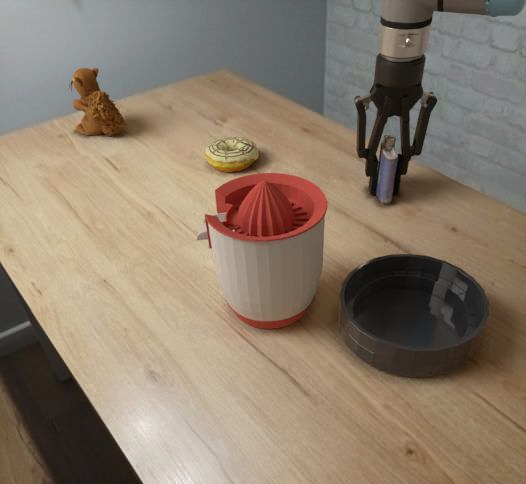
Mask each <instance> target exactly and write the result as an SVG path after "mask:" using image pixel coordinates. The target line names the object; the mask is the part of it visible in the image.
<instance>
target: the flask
mask: <svg viewBox="0 0 526 484" xmlns="http://www.w3.org/2000/svg"><path fill="white" fill-rule="evenodd" d="M396 140H397V138H396V136H394V135H391V134H385V135H383V136H382V137H381V141H380V147H379V148H380V149H379V150H380V151H379V156H378V170H377V178H376V187H375V197H376V201H378V203H379V204H380V205H382V206H383V205H390V204H391V203H392V200H393V194H394V192H393V187H394V180H395V174H396V168H397V162H398V155H397V154H398V153H397V150H396V145H395V144H396Z"/></svg>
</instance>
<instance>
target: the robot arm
mask: <svg viewBox="0 0 526 484" xmlns="http://www.w3.org/2000/svg"><path fill="white" fill-rule="evenodd" d="M525 5H526V0H382V1H381V10H380V11H381V13H380V21H379V29H378V37H377V46H376V50H377V52H378V54H377V55H376V57H375V67H374V76H373V77H374V78H373V84H372V86H371V87H370V89H369V93H367V94H364V95H362V96H361V95H356V96H355V97H354V98H353V101H354V105H355V109H356V111H357V112H356V113H357V114H356V115H357V116H356V147H355V148H356V153H357V157H358V158H359V159H364V160H365V164H364V173H365V177H367V178H369V179H368V191H369V194H370V196H376V192H375V187H376V178H377V171H378V163H379V158H378V155H377V153H378V149H379V146H380V144H381V141H382V137H383V133H384V130H385V126H386V124H388V119H389V118H392V117H398V118H399V134H400V137H399V138H400V152H401V153H397V155H398V162H397V168H396V174H395V180H394V187H393V194H394V195H399V192H400V185H401V179H402V176H406V175H407V173H408V170H409V164H410V161H411V160H412V157H417V156H420V155H422V151H423V147H424V143H425V139H426V136H427V131H428V128H429V127H428V126H429V122H430V118H431V114H432V112H433V110H434V108H435V107H436V105H437V103H438V99H437V96H436V94H435V93H434V92H433V91H429V92H428V91H425V90H424V88H423V79H424V73H425V66H426V60H427V58H426V55H425V54H426V52H427V51H428V48H429V39H430V34H431V28H432V22H433V17H434V13H435V12H438V13H450V14H451V13H452V14H462V15H463V14H465V15H477V16H478V15H479V16H488V17H491V18H497V17H515V16H518V15H520V13H521V12H522V11H523V10H524V8H525ZM371 102H372V103H373V105H374V106H375V108H376V109H377V111H376V114H375V116H376V117H375V120H374V124H373V127H372V130H371V134H370V137H369V139H368V140H369V141H368V144H367V148H366V141H367V140H366V139H367V137H366V135H367V113H366V111H368V110H369V109H370V103H371ZM418 102H419V104H420V109H419V112H418V117H417V122H416V127H415V131H414V135H413V140H412V143H411V130H410V129H411V128H410V121H411V113H410V112H411V110H412V109H413V108H414V107H415V105H416V104H417V103H418Z"/></svg>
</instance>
